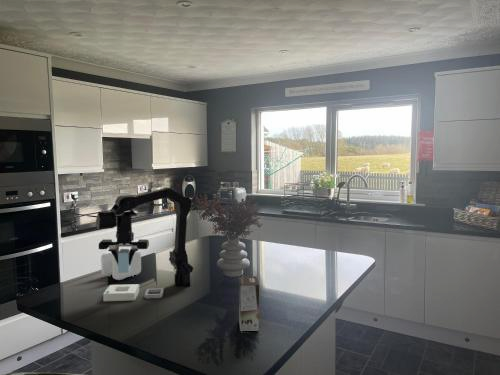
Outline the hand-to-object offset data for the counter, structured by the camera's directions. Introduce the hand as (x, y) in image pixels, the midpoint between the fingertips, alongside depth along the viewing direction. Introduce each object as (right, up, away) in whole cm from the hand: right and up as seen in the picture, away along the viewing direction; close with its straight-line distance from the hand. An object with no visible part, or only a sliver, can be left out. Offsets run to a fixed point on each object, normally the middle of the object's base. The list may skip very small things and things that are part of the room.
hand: (124, 265), depth 156 cm
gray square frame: (+11, -13, +3) cm, 18 cm away
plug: (0, -3, 0) cm, 3 cm away
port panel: (-1, -13, +2) cm, 13 cm away
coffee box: (+50, -16, -24) cm, 58 cm away
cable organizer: (-10, -11, +27) cm, 30 cm away
